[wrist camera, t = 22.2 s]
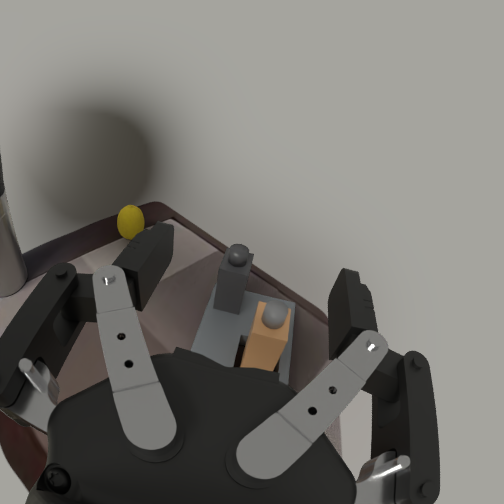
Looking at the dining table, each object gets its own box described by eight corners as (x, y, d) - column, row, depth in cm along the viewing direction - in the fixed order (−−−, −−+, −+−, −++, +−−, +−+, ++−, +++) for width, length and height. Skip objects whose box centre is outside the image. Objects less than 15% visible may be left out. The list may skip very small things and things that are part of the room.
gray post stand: (183, 377, 36) (184, 321, 29) (214, 293, 50) (223, 232, 43) (281, 401, 36) (313, 352, 29) (291, 312, 50) (314, 255, 42)
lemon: (113, 238, 56) (111, 204, 51) (134, 228, 60) (133, 195, 55) (128, 251, 54) (125, 216, 49) (150, 240, 58) (149, 206, 53)
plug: (236, 379, 38) (255, 321, 30) (243, 350, 42) (262, 289, 34) (265, 385, 38) (292, 330, 30) (270, 357, 42) (295, 297, 34)
